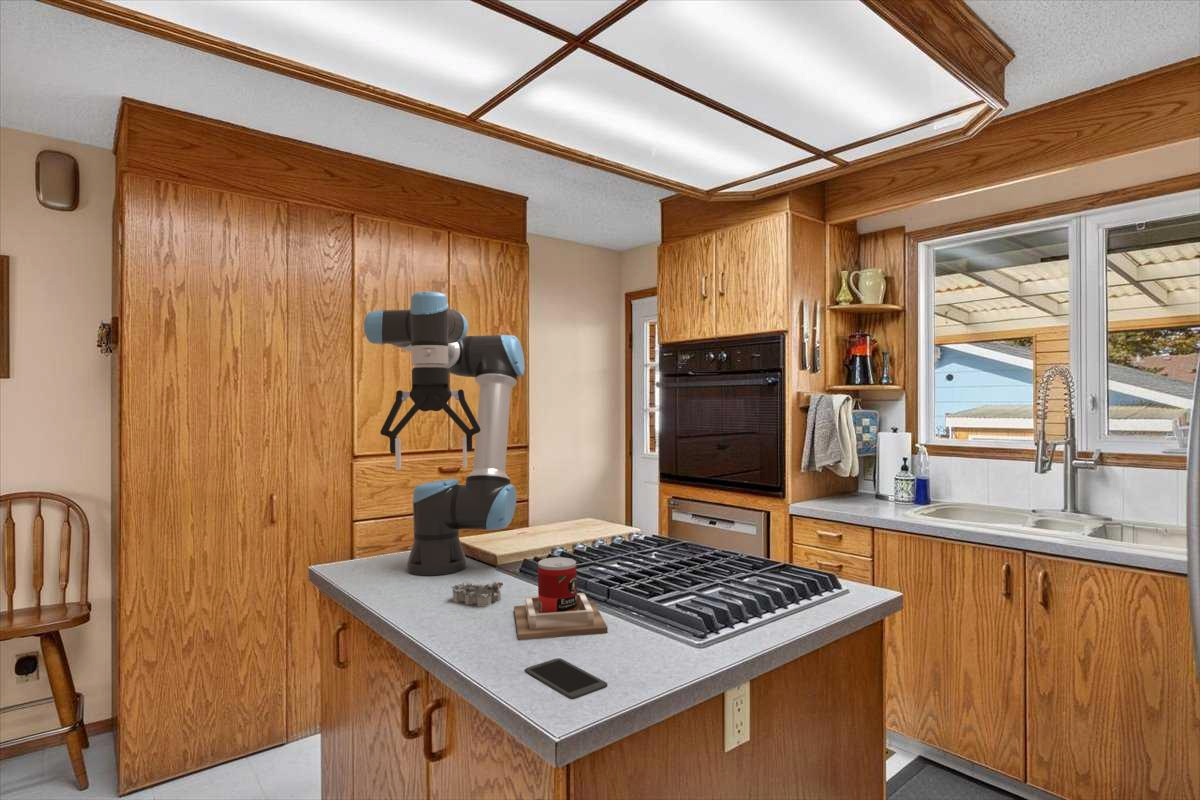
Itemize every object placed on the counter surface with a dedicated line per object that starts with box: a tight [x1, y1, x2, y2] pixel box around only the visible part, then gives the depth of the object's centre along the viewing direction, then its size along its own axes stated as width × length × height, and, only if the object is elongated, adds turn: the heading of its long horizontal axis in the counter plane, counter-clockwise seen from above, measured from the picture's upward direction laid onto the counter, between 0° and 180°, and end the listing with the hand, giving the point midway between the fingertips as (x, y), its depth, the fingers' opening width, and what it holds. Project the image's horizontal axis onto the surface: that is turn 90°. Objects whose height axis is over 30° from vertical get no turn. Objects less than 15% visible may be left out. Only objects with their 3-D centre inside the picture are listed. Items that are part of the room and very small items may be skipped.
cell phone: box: [524, 657, 608, 700], centre depth 108 cm, size 7×14×1 cm, turn 38°
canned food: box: [537, 556, 578, 613], centre depth 135 cm, size 8×8×11 cm
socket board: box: [513, 592, 609, 641], centre depth 135 cm, size 17×17×4 cm
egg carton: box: [449, 581, 504, 607], centre depth 150 cm, size 11×8×4 cm
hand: (432, 468), depth 140 cm, fingers open, 13 cm apart
